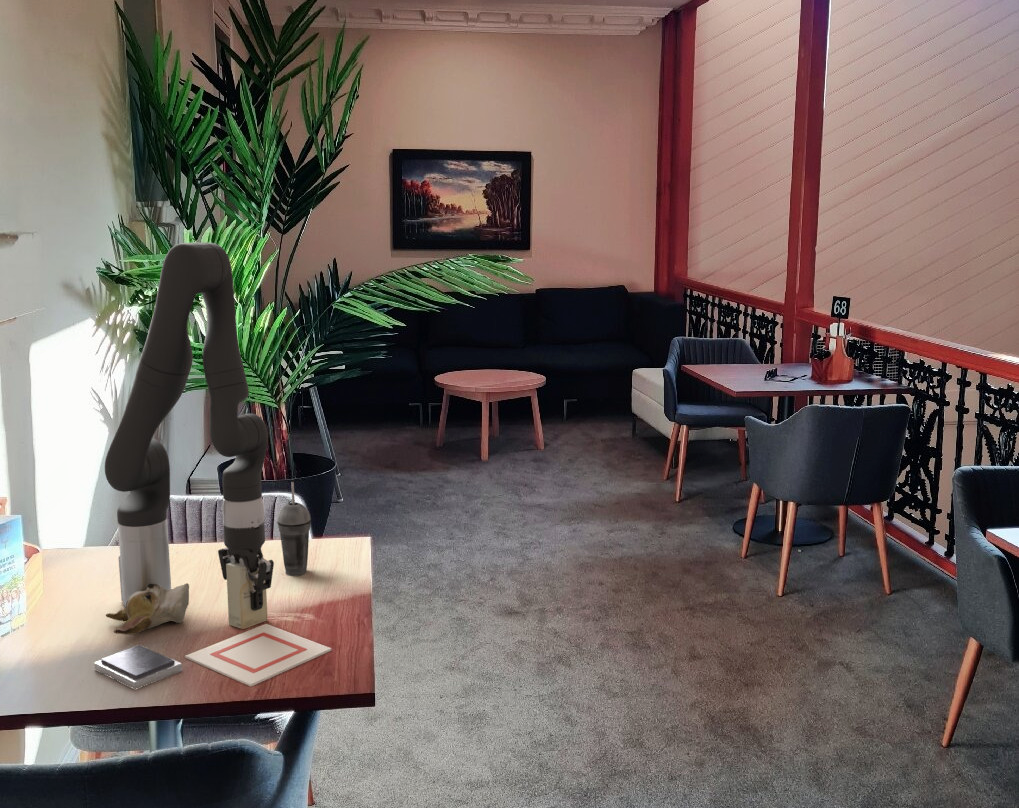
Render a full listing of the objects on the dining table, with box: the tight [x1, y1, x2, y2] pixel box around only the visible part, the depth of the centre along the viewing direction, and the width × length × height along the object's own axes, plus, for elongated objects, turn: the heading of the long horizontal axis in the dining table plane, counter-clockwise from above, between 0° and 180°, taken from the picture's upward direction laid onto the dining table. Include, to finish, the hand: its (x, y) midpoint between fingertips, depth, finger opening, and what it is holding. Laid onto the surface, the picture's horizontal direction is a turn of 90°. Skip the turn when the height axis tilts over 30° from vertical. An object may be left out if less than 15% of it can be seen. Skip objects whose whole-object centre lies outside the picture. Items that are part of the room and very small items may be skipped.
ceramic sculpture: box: [105, 583, 190, 635], centre depth 195 cm, size 11×9×15 cm
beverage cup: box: [276, 481, 312, 577], centre depth 222 cm, size 7×7×20 cm
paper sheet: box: [184, 623, 332, 687], centre depth 183 cm, size 18×18×1 cm
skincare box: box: [226, 563, 268, 630], centre depth 196 cm, size 6×4×12 cm
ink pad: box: [93, 644, 183, 690], centre depth 176 cm, size 12×9×2 cm
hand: (247, 605), depth 196 cm, fingers open, 5 cm apart
